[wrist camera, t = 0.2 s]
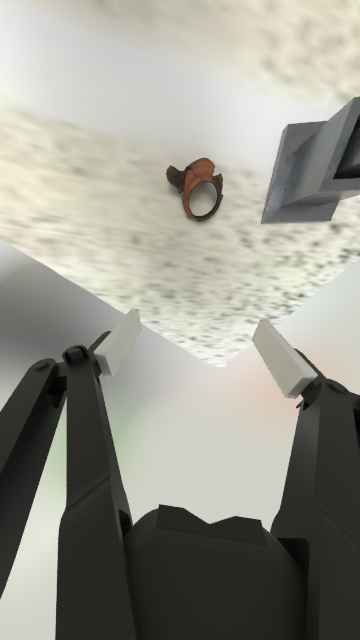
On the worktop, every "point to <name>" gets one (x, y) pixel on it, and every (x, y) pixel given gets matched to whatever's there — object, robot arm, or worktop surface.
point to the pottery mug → (192, 177)
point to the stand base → (312, 169)
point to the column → (350, 158)
